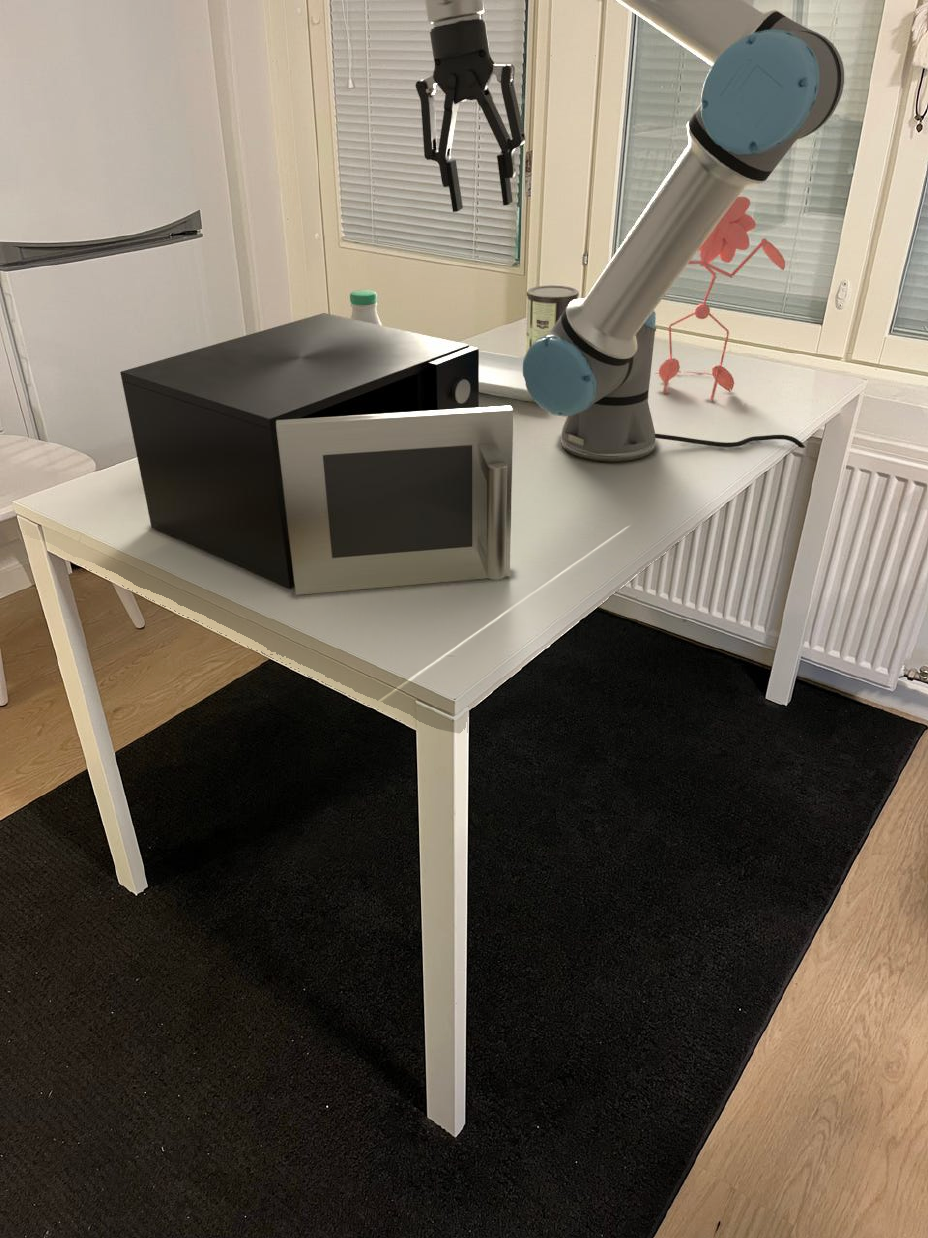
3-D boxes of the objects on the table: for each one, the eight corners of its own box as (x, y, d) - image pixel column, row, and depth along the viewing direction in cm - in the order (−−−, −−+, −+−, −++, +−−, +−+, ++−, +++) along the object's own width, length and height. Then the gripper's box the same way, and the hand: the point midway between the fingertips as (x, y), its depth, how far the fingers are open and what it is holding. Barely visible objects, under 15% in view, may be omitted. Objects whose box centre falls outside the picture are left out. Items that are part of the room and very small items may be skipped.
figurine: (756, 410, 170) (790, 198, 151) (620, 387, 181) (637, 187, 162) (778, 385, 181) (812, 185, 163) (649, 366, 192) (667, 176, 174)
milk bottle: (341, 409, 172) (332, 295, 161) (360, 395, 178) (353, 285, 167) (379, 414, 169) (373, 299, 159) (398, 400, 176) (393, 289, 165)
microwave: (482, 497, 140) (483, 347, 128) (303, 596, 116) (284, 423, 104) (335, 449, 156) (324, 312, 144) (151, 527, 132) (119, 371, 120)
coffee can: (572, 354, 199) (576, 284, 192) (577, 369, 191) (581, 297, 183) (523, 354, 200) (525, 284, 192) (525, 369, 191) (527, 297, 183)
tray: (542, 410, 171) (543, 391, 169) (395, 383, 184) (395, 365, 182) (580, 383, 183) (581, 365, 181) (440, 360, 196) (440, 343, 195)
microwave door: (521, 605, 114) (527, 432, 102) (296, 626, 110) (275, 449, 98) (507, 570, 121) (510, 405, 109) (295, 588, 117) (276, 420, 106)
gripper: (378, 36, 126) (410, 220, 138) (522, 7, 120) (544, 202, 131) (396, 33, 132) (426, 210, 144) (535, 6, 126) (554, 193, 138)
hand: (482, 206), depth 138 cm, fingers open, 7 cm apart
